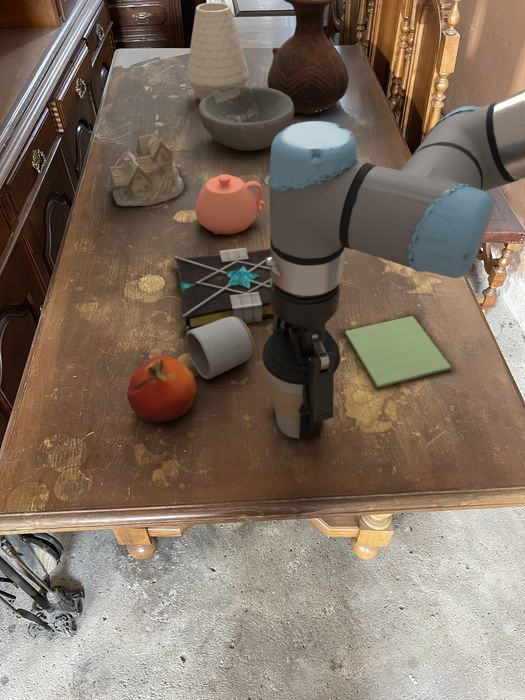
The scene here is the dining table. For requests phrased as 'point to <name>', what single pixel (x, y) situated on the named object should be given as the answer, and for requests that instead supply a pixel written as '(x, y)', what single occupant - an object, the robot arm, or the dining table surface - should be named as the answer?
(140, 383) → the tomato
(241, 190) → the sugar bowl
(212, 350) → the ceramic mug
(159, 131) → the ceramic cottage
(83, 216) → the dining table surface
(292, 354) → the coffee cup
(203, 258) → the book
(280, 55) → the jug
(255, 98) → the bowl
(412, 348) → the sage mat
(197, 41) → the vase
